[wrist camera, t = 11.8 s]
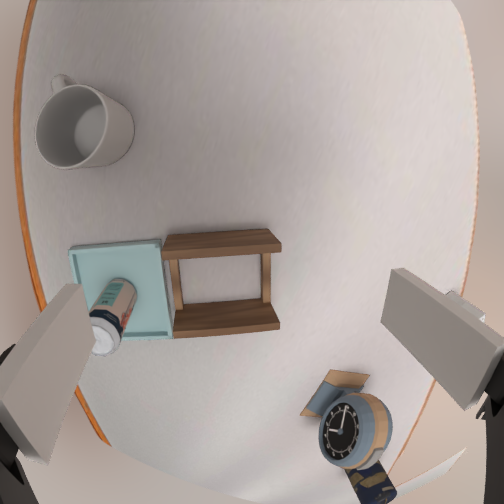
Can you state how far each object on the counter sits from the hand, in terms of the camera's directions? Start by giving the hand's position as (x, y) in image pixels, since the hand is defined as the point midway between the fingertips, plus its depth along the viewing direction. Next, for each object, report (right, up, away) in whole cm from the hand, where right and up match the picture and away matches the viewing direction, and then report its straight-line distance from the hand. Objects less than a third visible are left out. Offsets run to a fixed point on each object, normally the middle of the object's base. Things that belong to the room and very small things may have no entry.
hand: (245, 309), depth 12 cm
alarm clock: (+16, -26, +40) cm, 50 cm away
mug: (-19, +19, +20) cm, 33 cm away
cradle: (-4, 0, +28) cm, 29 cm away
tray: (-18, -3, +27) cm, 32 cm away
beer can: (-18, -3, +27) cm, 32 cm away
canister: (+30, -55, +52) cm, 81 cm away
